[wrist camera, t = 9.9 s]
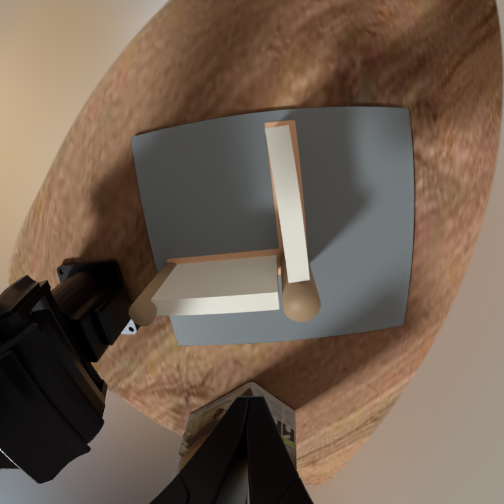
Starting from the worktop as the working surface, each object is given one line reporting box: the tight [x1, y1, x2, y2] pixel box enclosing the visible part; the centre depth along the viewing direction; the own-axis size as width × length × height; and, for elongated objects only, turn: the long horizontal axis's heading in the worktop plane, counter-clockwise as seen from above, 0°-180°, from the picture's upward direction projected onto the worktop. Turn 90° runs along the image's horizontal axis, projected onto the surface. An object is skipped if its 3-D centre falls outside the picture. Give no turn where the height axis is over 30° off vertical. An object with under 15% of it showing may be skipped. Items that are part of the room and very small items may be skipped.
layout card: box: [131, 107, 414, 345], centre depth 19 cm, size 18×16×1 cm
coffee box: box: [171, 382, 296, 504], centre depth 18 cm, size 9×6×16 cm
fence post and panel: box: [129, 252, 321, 326], centre depth 17 cm, size 10×2×6 cm, turn 97°
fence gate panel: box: [265, 125, 310, 283], centre depth 15 cm, size 7×1×5 cm, turn 10°
